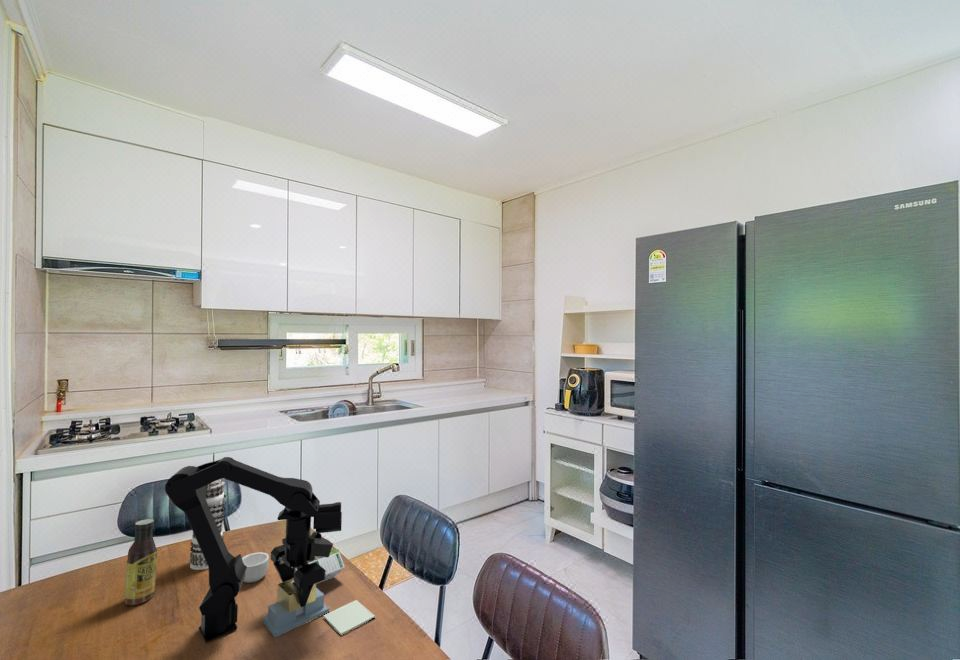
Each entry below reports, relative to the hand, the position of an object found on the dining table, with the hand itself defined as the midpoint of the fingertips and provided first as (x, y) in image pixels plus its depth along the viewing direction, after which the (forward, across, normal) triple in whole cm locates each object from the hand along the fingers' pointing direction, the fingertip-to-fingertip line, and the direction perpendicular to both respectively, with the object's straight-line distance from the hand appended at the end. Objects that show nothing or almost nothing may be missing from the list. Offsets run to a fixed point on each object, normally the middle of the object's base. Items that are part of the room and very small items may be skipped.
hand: (295, 598), depth 105 cm
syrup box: (+1, +10, -16) cm, 19 cm away
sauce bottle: (+5, +35, +26) cm, 44 cm away
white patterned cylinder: (+5, +44, +9) cm, 45 cm away
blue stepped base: (+4, 0, 0) cm, 5 cm away
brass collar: (0, 0, 0) cm, 1 cm away
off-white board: (+4, -10, -9) cm, 14 cm away
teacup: (+5, +26, +1) cm, 26 cm away
